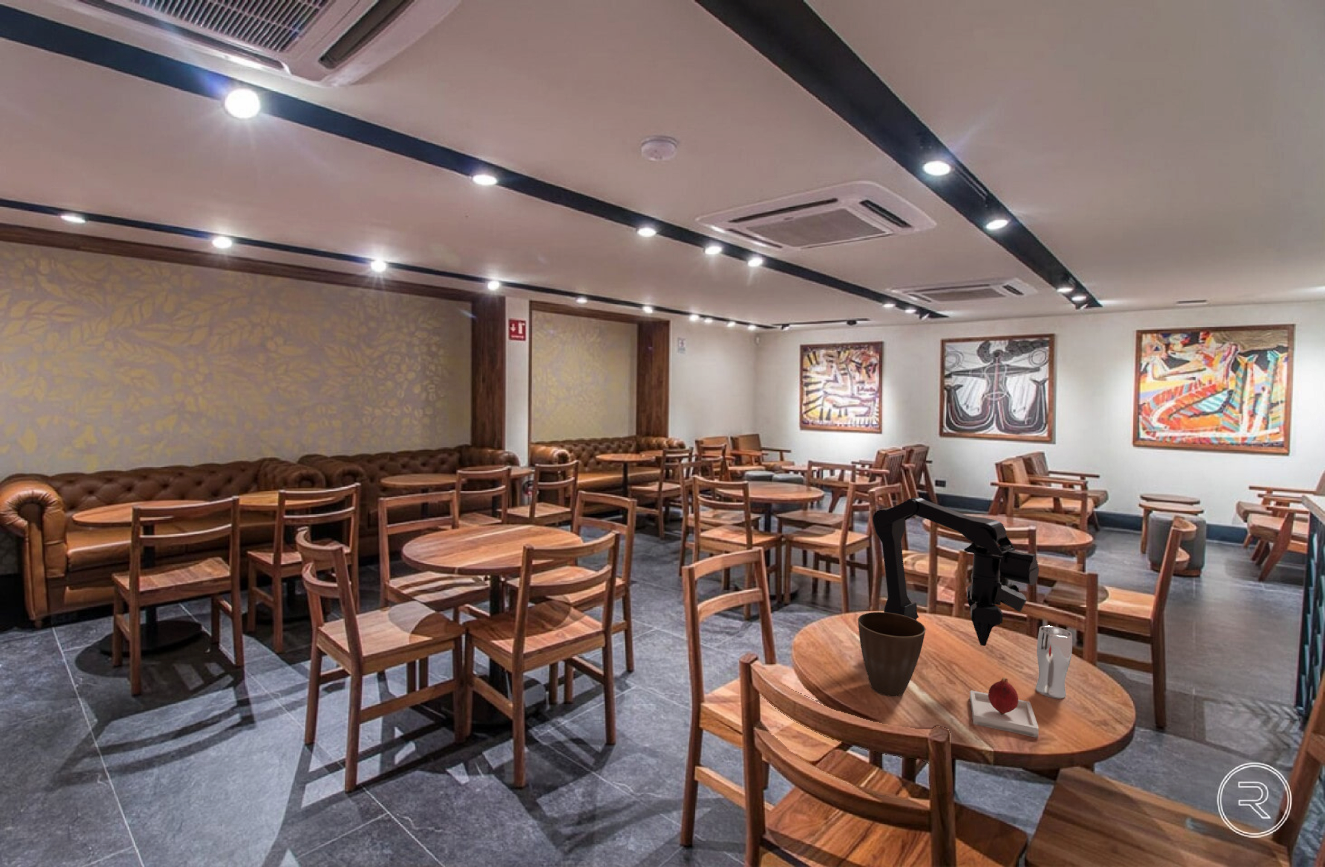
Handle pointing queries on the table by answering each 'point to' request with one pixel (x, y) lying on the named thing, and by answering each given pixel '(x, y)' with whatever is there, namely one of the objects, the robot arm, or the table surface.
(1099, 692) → the table surface
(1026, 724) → the dish
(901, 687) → the plant pot
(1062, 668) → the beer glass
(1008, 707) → the onion
